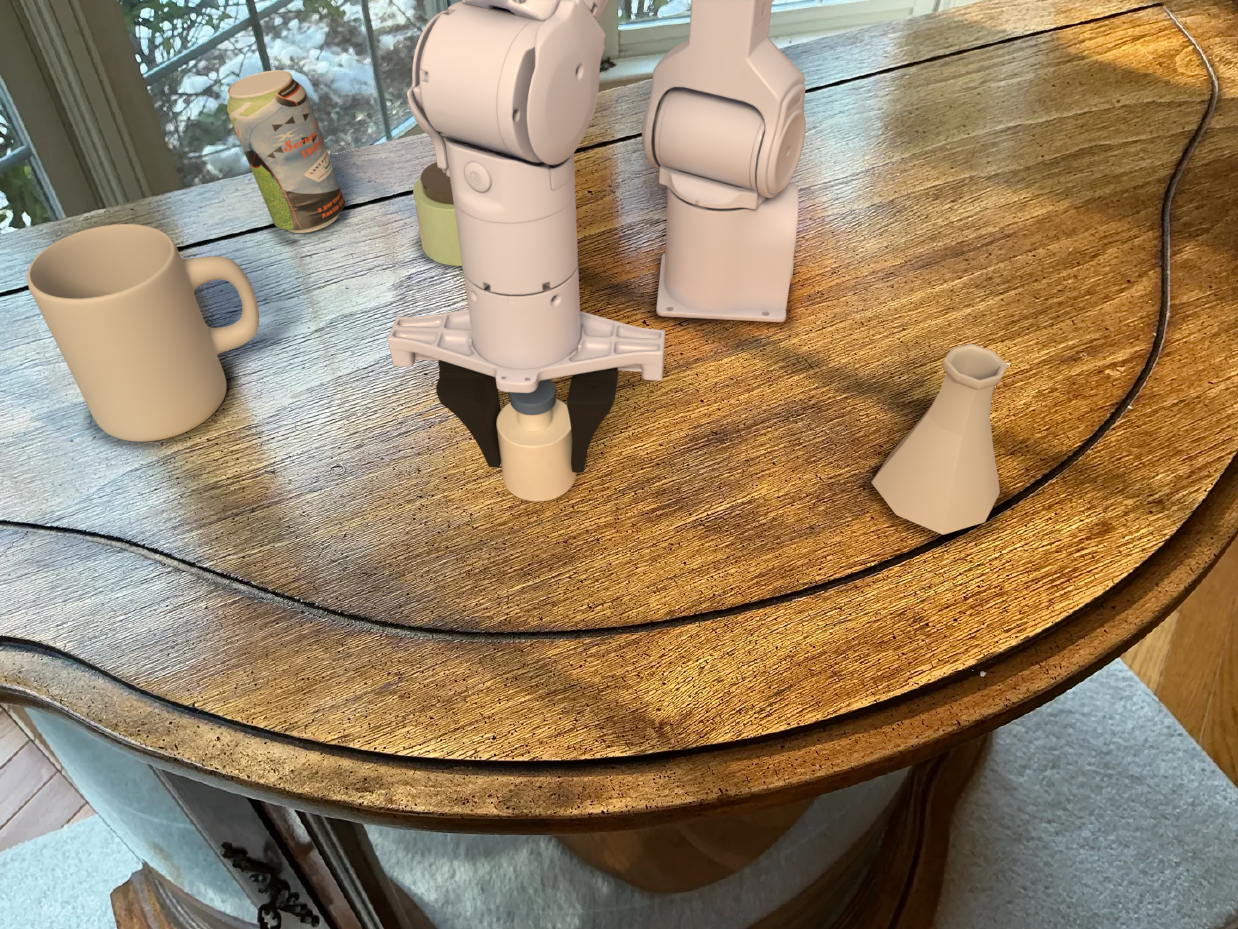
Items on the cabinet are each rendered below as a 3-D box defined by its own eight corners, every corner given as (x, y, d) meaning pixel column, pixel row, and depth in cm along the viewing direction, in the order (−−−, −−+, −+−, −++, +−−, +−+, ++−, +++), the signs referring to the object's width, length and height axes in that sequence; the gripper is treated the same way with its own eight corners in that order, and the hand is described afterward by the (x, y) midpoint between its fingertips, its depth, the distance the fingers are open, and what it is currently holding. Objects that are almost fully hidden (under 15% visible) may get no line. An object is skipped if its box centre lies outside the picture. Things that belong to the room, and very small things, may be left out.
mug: (103, 460, 62) (30, 318, 54) (87, 382, 67) (17, 243, 60) (293, 401, 66) (249, 261, 58) (263, 333, 71) (219, 196, 64)
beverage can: (331, 246, 79) (296, 102, 71) (246, 236, 80) (202, 93, 72) (360, 206, 84) (331, 66, 75) (280, 197, 85) (242, 58, 76)
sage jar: (515, 221, 82) (509, 154, 78) (500, 268, 77) (493, 199, 73) (432, 217, 83) (422, 150, 78) (413, 264, 78) (401, 195, 73)
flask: (925, 433, 64) (963, 306, 57) (1020, 497, 60) (1073, 369, 53) (849, 483, 60) (879, 355, 53) (944, 554, 56) (990, 426, 49)
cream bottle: (580, 451, 61) (576, 366, 56) (571, 504, 58) (566, 418, 53) (509, 447, 61) (499, 362, 56) (497, 499, 58) (485, 413, 53)
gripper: (354, 303, 46) (401, 499, 56) (662, 318, 45) (655, 516, 55) (392, 223, 51) (428, 416, 61) (670, 235, 50) (662, 430, 60)
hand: (537, 458), depth 58 cm, fingers closed on cream bottle, 4 cm apart
